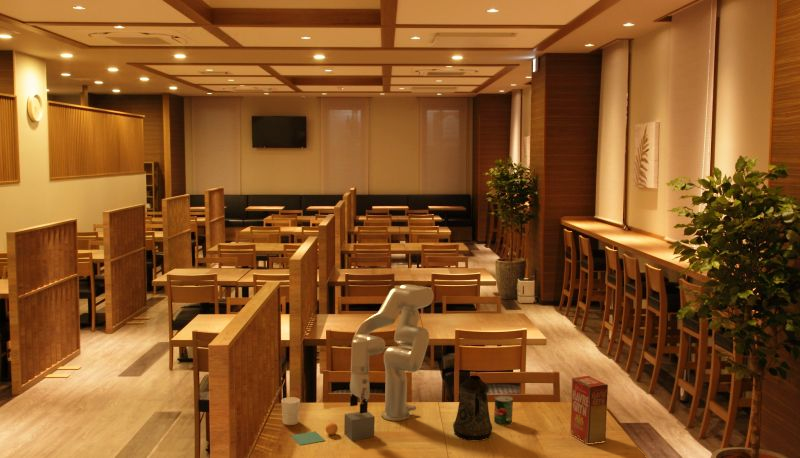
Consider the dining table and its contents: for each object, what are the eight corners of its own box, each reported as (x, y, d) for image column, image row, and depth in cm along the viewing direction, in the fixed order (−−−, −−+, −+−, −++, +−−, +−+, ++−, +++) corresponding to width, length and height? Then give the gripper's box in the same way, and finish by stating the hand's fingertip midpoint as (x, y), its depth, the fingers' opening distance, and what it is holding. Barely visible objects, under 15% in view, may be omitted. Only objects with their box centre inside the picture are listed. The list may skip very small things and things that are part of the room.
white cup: (296, 426, 337) (296, 403, 336) (278, 424, 339) (278, 402, 337) (302, 420, 345) (302, 397, 344) (285, 418, 346) (285, 396, 345)
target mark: (315, 431, 332) (315, 431, 332) (325, 440, 322) (325, 440, 322) (290, 435, 327) (290, 435, 327) (299, 445, 317) (299, 444, 317)
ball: (334, 431, 332) (334, 420, 332) (339, 435, 328) (339, 423, 327) (323, 433, 330) (323, 421, 329) (328, 437, 326) (328, 425, 325)
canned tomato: (491, 423, 345) (492, 399, 343) (496, 418, 352) (497, 394, 350) (509, 426, 342) (510, 402, 340) (514, 420, 349) (514, 396, 348)
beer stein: (470, 423, 345) (472, 368, 342) (505, 436, 331) (507, 378, 328) (444, 433, 333) (446, 375, 330) (480, 446, 319) (482, 387, 316)
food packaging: (568, 434, 334) (571, 377, 331) (586, 431, 338) (589, 374, 335) (587, 445, 322) (590, 386, 319) (606, 442, 326) (609, 384, 323)
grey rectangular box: (366, 430, 334) (366, 410, 333) (374, 436, 327) (374, 416, 326) (344, 434, 329) (344, 414, 328) (351, 440, 323) (352, 420, 321)
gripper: (377, 373, 319) (375, 414, 320) (359, 362, 334) (358, 402, 336) (360, 375, 315) (358, 416, 317) (343, 364, 331) (342, 404, 332)
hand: (358, 409), depth 326 cm, fingers open, 9 cm apart
